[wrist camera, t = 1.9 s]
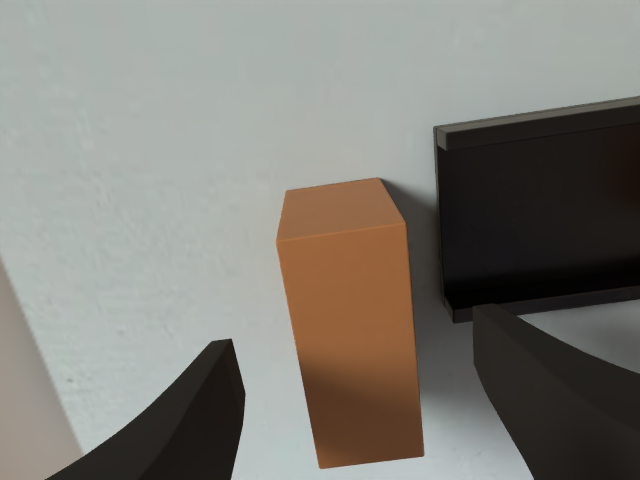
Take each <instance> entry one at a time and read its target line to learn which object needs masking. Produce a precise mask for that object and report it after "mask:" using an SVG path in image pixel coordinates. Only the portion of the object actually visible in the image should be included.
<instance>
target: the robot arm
mask: <svg viewBox="0 0 640 480" xmlns="http://www.w3.org/2000/svg"><path fill="white" fill-rule="evenodd" d="M473 351H474V365H475V368H476V370H477V373H478V375H479V378H480V380H481V383H482V385H483V388H484V390H485V392H486V394H487V396H488V398H489V400H490V401H491V403H492V405H493V407H494V408H495V410H496V412H497V414H498V415H499V417H500V419H501V421H502V422H503V424H504V426H505V428H506V429H507V431H508V433H509V434H510V436H511V438H512V440H513V441H514V443H515V445H516V446H517V448H518V450H519V452H520V453H521V455H522V457H523V459H524V460H525V462H526V464H527V466H528V468H529V470H530V472H531V474H532V476H533V478H534V480H640V374H639V373H636V372H633V371H630V370H627V369H624V368H622V367H619V366H616V365H614V364H612V363H609V362H607V361H604V360H602V359H599V358H597V357H594V356H592V355H590V354H587V353H585V352H583V351H581V350H579V349H577V348H575V347H573V346H571V345H569V344H566V343H564V342H562V341H560V340H559V339H557V338H555V337H553V336H551V335H549V334H547V333H545V332H544V331H542V330H540V329H538V328H536V327H535V326H533V325H531V324H529V323H528V322H526V321H524V320H522V319H521V318H519V317H517V316H516V315H514V314H512V313H510V312H509V311H507V310H505V309H503V308H502V307H500V306H498V305H496V304H494V303H491V304H484V305H477V306H473ZM245 394H246V393H245V389H244V385H243V381H242V378H241V374H240V370H239V366H238V362H237V358H236V354H235V350H234V346H233V342H232V339H225V340H217V341H212V342H211V343H210V344H208V346H207V347H206V348H205V349H204V350H203V351H202V352H201V353H200V354H199V355H198V356H197V358H196V359H195V360H194V361H193V362H192V363H191V364H190V365H189V366H188V367H187V368H186V370H185V371H184V372H183V373H182V374H181V375H180V376H179V377H178V378H177V379H176V380H175V381H174V382H173V383H172V384H171V385H170V386H169V387H168V388H167V389H166V390H165V391H164V392H163V393H162V394H161V395H160V396H159V397H158V398H157V399H156V400H155V401H154V402H153V403H152V404H151V405H150V406H149V407H147V408H146V409H145V410H144V411H143V412H142V413H141V414H140V415H138V416H137V417H136V418H135V419H134V420H132V421H131V422H130V423H129V424H127V425H126V426H125V427H124V428H122V429H121V430H120V431H119V432H117V433H116V434H115V435H113V436H112V437H110V438H109V439H108V440H106V441H105V442H103V443H102V444H100V445H99V446H98V447H96V448H95V449H93V450H92V451H91V452H89V453H88V454H86V455H85V456H83V457H82V458H80V459H79V460H77V461H75V462H74V463H72V464H71V465H69V466H67V467H66V468H64V469H62V470H61V471H59V472H57V473H56V474H54V475H52V476H51V477H49V478H47V479H45V480H231V476H232V472H233V467H234V463H235V458H236V454H237V450H238V445H239V440H240V436H241V431H242V426H243V418H244V407H245Z"/></svg>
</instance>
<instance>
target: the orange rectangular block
mask: <svg viewBox="0 0 640 480" xmlns="http://www.w3.org/2000/svg"><path fill="white" fill-rule="evenodd" d="M276 246H277V251H278V256H279V261H280V267H281V272H282V277H283V282H284V287H285V293H286V298H287V303H288V308H289V313H290V319H291V324H292V329H293V334H294V339H295V345H296V350H297V355H298V360H299V365H300V371H301V376H302V381H303V386H304V391H305V397H306V402H307V407H308V412H309V417H310V423H311V428H312V433H313V438H314V443H315V449H316V454H317V459H318V464H319V468H320V469H325V468H334V467H342V466H350V465H358V464H366V463H374V462H383V461H391V460H399V459H407V458H415V457H423V456H424V443H423V430H422V417H421V404H420V391H419V378H418V365H417V352H416V339H415V327H414V314H413V301H412V288H411V275H410V262H409V249H408V236H407V224H406V222H405V220H404V219H403V217H402V215H401V214H400V212H399V210H398V209H397V207H396V205H395V204H394V202H393V200H392V199H391V197H390V195H389V194H388V192H387V190H386V189H385V187H384V185H383V184H382V182H381V180H380V179H379V178H371V179H364V180H357V181H350V182H343V183H336V184H329V185H322V186H316V187H309V188H302V189H295V190H288V191H286V193H285V198H284V203H283V208H282V213H281V218H280V223H279V228H278V233H277V238H276Z"/></svg>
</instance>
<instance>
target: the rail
mask: <svg viewBox="0 0 640 480" xmlns="http://www.w3.org/2000/svg"><path fill="white" fill-rule="evenodd" d="M433 133H434V153H435V173H436V193H437V213H438V233H439V253H440V272H441V292H442V304H443V305H444V307H445V309H446V310H447V312H448V314H449V316H450V318H451V319H452V321H453V323H455V324H456V323H464V322H471V321H473V306H477V305H484V304H491V303H494V304H496V305H498V306H500V307H502V308H503V309H505V310H507V311H509V312H510V313H512V314H514V315H516V316H517V315H524V314H532V313H539V312H547V311H554V310H562V309H570V308H577V307H585V306H592V305H600V304H607V303H615V302H622V301H630V300H638V299H640V96H637V97H630V98H623V99H616V100H609V101H603V102H596V103H589V104H582V105H575V106H569V107H562V108H555V109H548V110H542V111H535V112H528V113H521V114H514V115H508V116H501V117H494V118H487V119H480V120H474V121H467V122H460V123H453V124H447V125H440V126H434V127H433Z"/></svg>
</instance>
